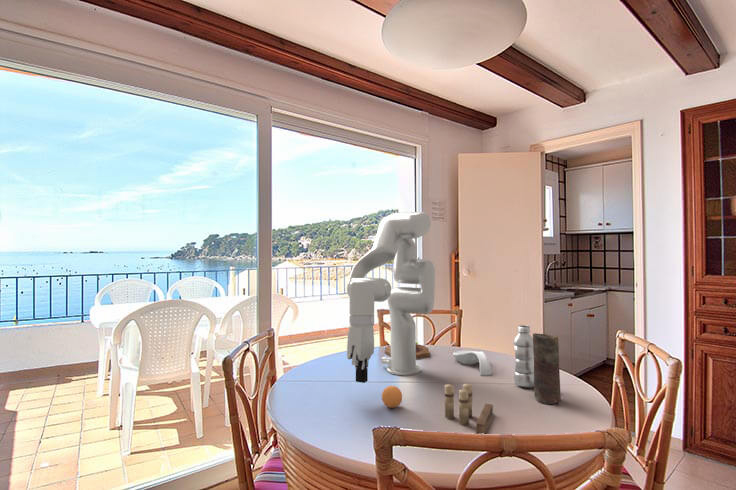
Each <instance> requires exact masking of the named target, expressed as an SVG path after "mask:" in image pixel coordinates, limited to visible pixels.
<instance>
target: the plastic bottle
mask: <svg viewBox="0 0 736 490" xmlns="http://www.w3.org/2000/svg"><path fill="white" fill-rule="evenodd" d="M517 326H518V327H517V332H518V334H516V336H515V337H514V339H513V346H514V347H513V348H514V354H515V368H514V369H515V371H514V376H513V379H514V383H515V385H516V386H518V387H521V388H534V359H533V357H534V356H533V336H531V334H530V333H531V327H530V325H517Z"/></svg>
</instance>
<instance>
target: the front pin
mask: <svg viewBox="0 0 736 490" xmlns="http://www.w3.org/2000/svg"><path fill="white" fill-rule="evenodd" d="M454 397H455V392H454V385H453V384H449V383H448V384H444V417H445V419H449V420H451V419H454V418H455V408H454V407H455V402H454V401H455V400H454V399H455V398H454Z"/></svg>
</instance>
